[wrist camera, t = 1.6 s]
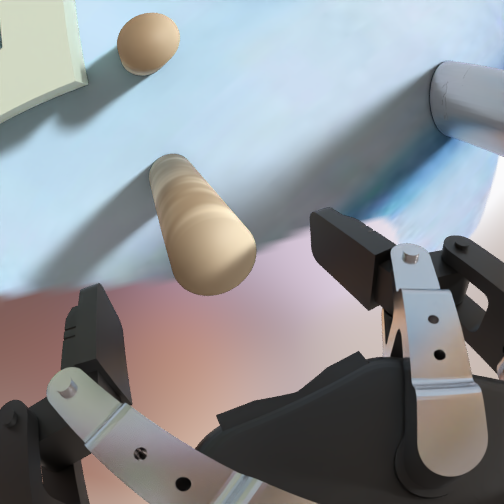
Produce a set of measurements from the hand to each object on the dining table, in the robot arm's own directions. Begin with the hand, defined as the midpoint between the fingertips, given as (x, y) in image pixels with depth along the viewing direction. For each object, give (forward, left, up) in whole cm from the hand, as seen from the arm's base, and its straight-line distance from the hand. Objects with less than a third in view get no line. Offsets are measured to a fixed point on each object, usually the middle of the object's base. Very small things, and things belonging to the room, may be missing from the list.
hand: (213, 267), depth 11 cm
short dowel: (0, -9, -12) cm, 15 cm away
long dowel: (0, 0, -12) cm, 12 cm away
